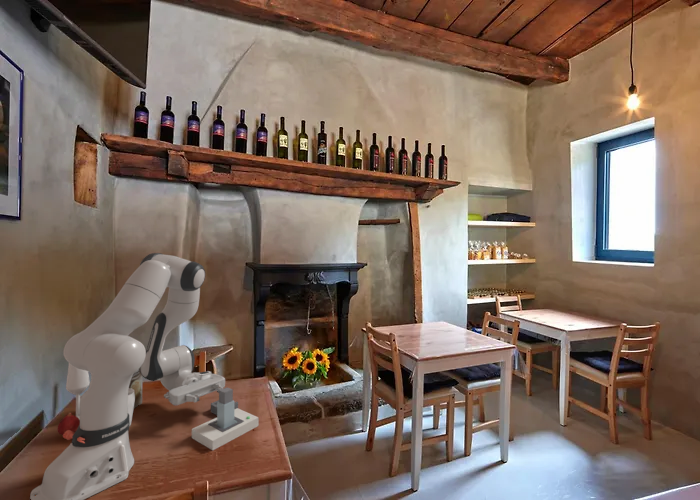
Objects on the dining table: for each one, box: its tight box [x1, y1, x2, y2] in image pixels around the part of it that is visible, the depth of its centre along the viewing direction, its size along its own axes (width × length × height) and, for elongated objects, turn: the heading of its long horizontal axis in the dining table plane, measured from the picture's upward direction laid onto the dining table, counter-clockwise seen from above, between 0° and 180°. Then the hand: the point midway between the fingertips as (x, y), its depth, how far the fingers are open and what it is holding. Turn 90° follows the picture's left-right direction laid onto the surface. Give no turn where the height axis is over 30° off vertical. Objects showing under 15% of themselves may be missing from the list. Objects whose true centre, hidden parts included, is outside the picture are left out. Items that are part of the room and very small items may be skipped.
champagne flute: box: [65, 362, 90, 420], centre depth 123 cm, size 7×7×24 cm
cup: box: [128, 388, 135, 426], centre depth 119 cm, size 9×9×12 cm
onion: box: [57, 412, 80, 437], centre depth 113 cm, size 6×6×8 cm
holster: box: [210, 399, 239, 416], centre depth 131 cm, size 7×8×3 cm
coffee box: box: [129, 368, 143, 410], centre depth 133 cm, size 9×6×16 cm
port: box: [191, 407, 260, 451], centre depth 116 cm, size 18×12×3 cm, turn 145°
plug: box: [216, 387, 235, 429], centre depth 116 cm, size 4×4×14 cm
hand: (209, 394), depth 122 cm, fingers open, 8 cm apart
